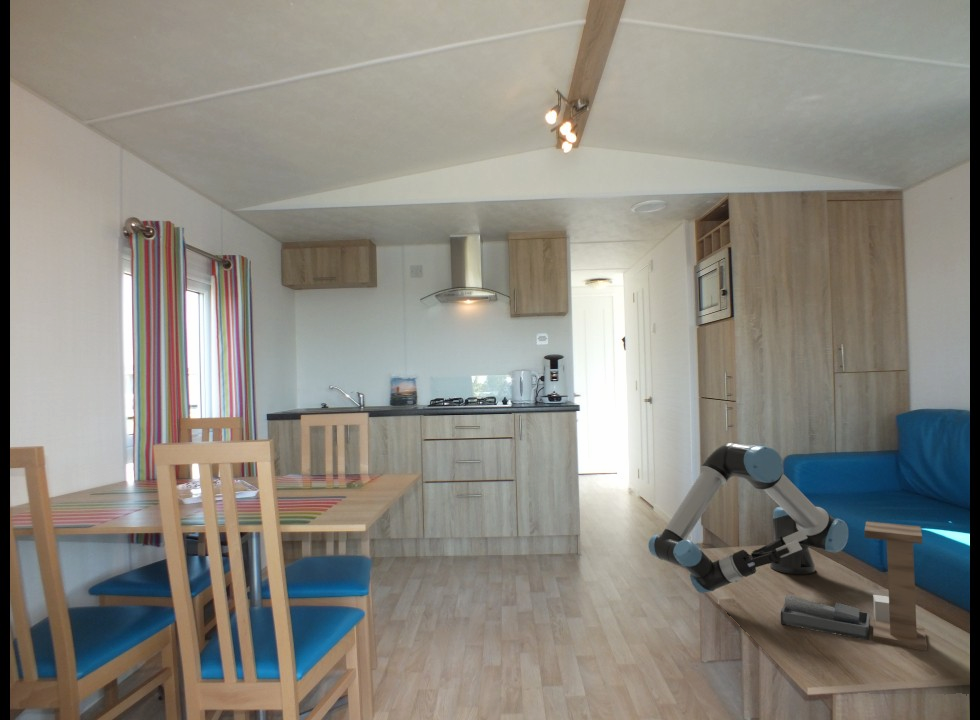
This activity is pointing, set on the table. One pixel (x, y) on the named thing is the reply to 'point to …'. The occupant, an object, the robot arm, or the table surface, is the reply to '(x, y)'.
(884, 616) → the white cube
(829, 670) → the table surface
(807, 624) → the tray
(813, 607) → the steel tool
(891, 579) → the shelf post
